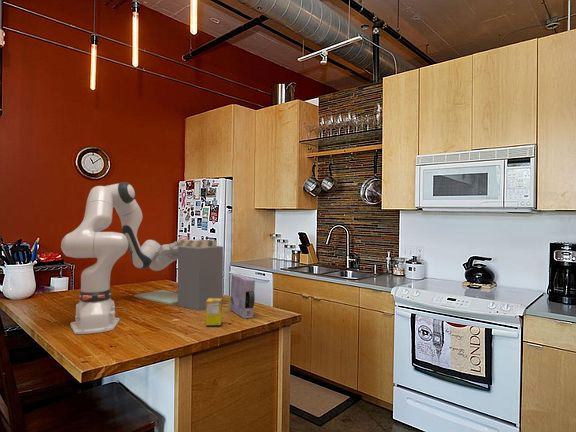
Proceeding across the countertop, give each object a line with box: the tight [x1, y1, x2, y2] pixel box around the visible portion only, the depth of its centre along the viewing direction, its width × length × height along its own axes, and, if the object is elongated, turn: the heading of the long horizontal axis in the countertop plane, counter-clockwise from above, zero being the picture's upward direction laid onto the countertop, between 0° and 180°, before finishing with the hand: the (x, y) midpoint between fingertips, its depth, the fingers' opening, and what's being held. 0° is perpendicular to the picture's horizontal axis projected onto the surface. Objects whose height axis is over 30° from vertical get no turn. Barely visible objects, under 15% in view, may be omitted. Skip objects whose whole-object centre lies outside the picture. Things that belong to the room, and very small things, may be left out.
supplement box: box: [205, 298, 223, 328], centre depth 165 cm, size 6×6×11 cm
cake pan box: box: [229, 273, 256, 320], centre depth 183 cm, size 19×5×18 cm, turn 30°
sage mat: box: [134, 289, 178, 306], centre depth 216 cm, size 32×18×1 cm, turn 54°
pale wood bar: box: [199, 239, 218, 247], centre depth 204 cm, size 12×3×3 cm, turn 54°
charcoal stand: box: [177, 245, 224, 311], centre depth 200 cm, size 16×16×30 cm
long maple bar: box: [177, 238, 208, 247], centre depth 203 cm, size 20×3×3 cm, turn 54°
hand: (184, 242), depth 207 cm, fingers open, 8 cm apart
